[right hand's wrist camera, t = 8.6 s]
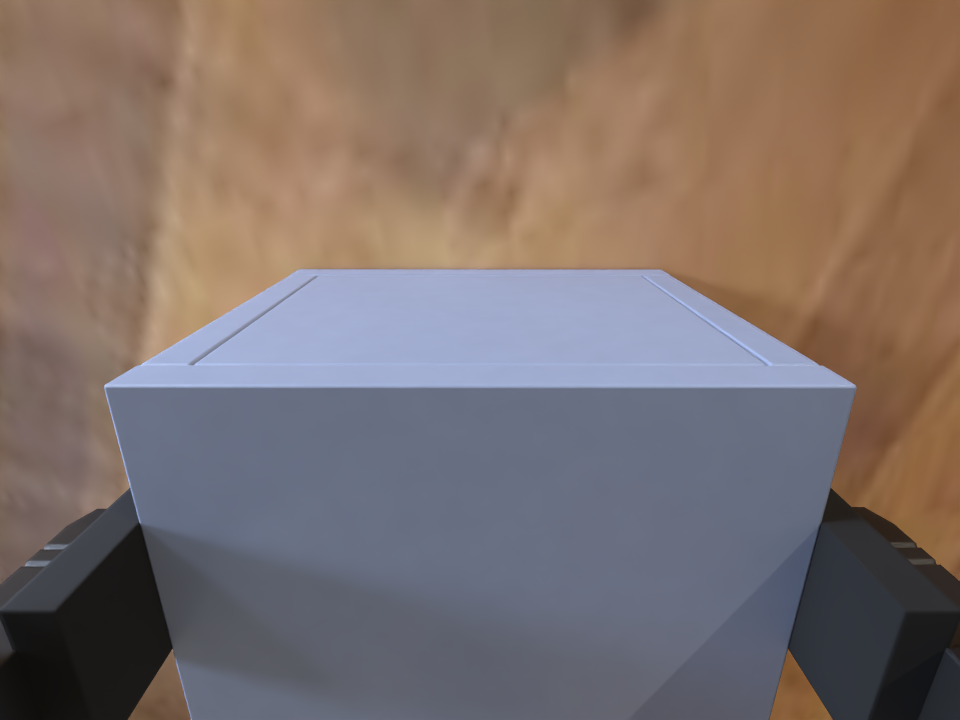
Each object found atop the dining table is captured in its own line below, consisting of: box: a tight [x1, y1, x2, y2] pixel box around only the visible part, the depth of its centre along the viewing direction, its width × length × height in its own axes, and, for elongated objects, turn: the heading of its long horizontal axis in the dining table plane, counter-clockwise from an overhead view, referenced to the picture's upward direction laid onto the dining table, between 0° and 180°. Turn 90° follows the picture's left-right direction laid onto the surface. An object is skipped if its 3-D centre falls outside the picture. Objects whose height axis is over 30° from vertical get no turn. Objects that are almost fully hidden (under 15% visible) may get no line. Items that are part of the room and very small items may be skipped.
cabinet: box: [104, 269, 857, 720], centre depth 15 cm, size 19×11×9 cm, turn 0°
